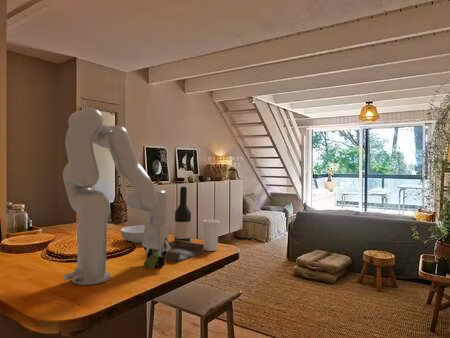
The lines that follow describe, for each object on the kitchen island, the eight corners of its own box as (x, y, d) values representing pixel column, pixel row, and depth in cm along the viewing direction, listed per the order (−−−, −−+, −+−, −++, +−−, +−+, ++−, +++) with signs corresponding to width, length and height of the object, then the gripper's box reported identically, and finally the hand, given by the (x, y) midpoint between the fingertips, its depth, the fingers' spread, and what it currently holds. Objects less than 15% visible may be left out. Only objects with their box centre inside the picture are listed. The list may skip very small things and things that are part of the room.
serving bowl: (149, 235, 191) (150, 223, 191) (168, 243, 175) (168, 229, 175) (114, 240, 178) (114, 227, 178) (130, 248, 162) (130, 234, 161)
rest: (177, 262, 141) (177, 253, 141) (149, 256, 149) (150, 247, 149) (203, 253, 157) (203, 244, 157) (177, 247, 165) (177, 239, 165)
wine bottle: (191, 243, 174) (193, 186, 174) (188, 247, 166) (189, 187, 166) (176, 242, 175) (177, 185, 175) (171, 246, 167) (173, 186, 167)
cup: (210, 247, 168) (211, 218, 168) (222, 250, 163) (223, 221, 162) (198, 249, 163) (199, 220, 162) (210, 253, 157) (211, 222, 157)
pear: (167, 250, 138) (150, 260, 129) (168, 263, 138) (151, 273, 130) (157, 248, 140) (140, 257, 132) (158, 260, 141) (141, 270, 133)
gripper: (134, 219, 137) (133, 263, 137) (166, 224, 128) (165, 271, 128) (147, 217, 143) (147, 258, 144) (179, 221, 134) (178, 266, 134)
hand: (155, 264), depth 136 cm, fingers closed on pear, 5 cm apart
